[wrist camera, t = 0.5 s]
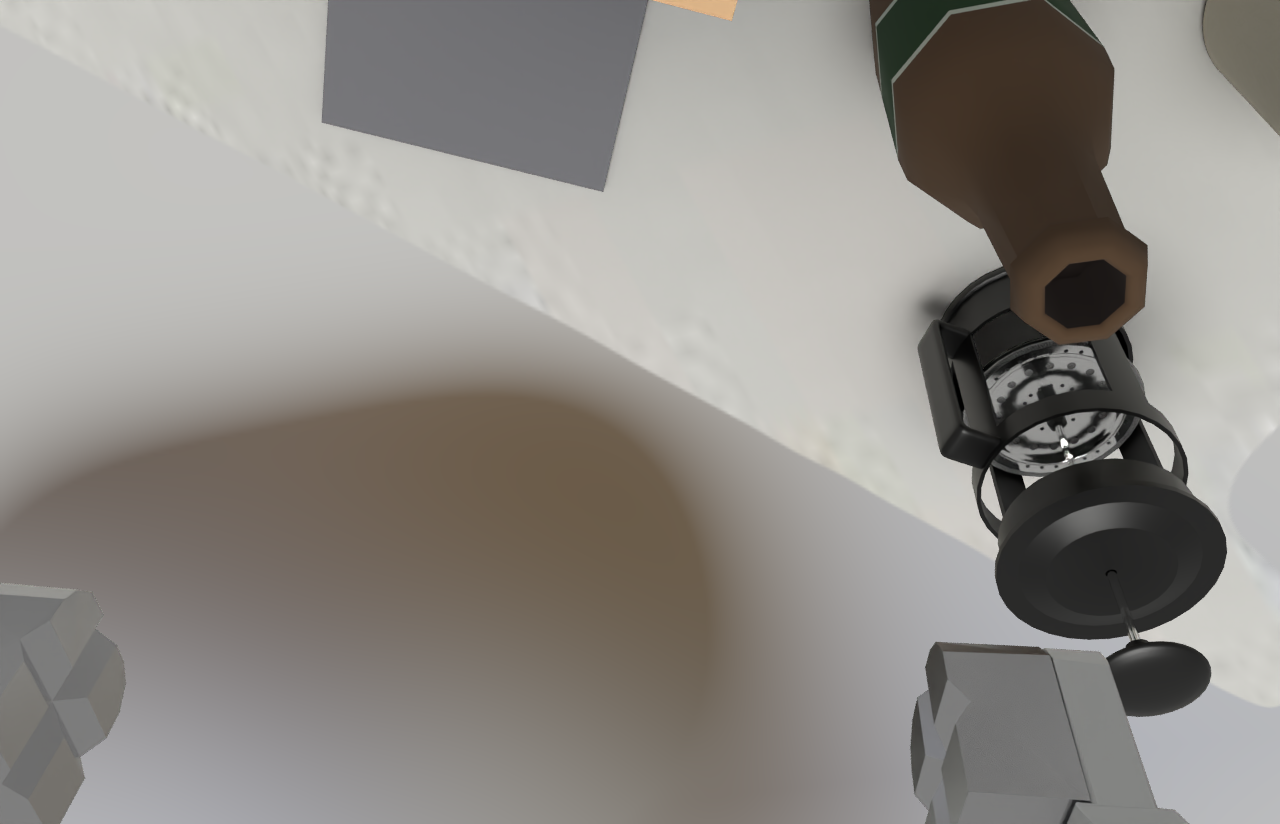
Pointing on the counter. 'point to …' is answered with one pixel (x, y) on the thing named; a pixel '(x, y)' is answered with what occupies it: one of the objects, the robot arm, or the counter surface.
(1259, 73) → the travel mug
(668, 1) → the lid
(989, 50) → the beer bottle
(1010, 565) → the french press
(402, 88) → the mat
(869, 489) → the counter surface
